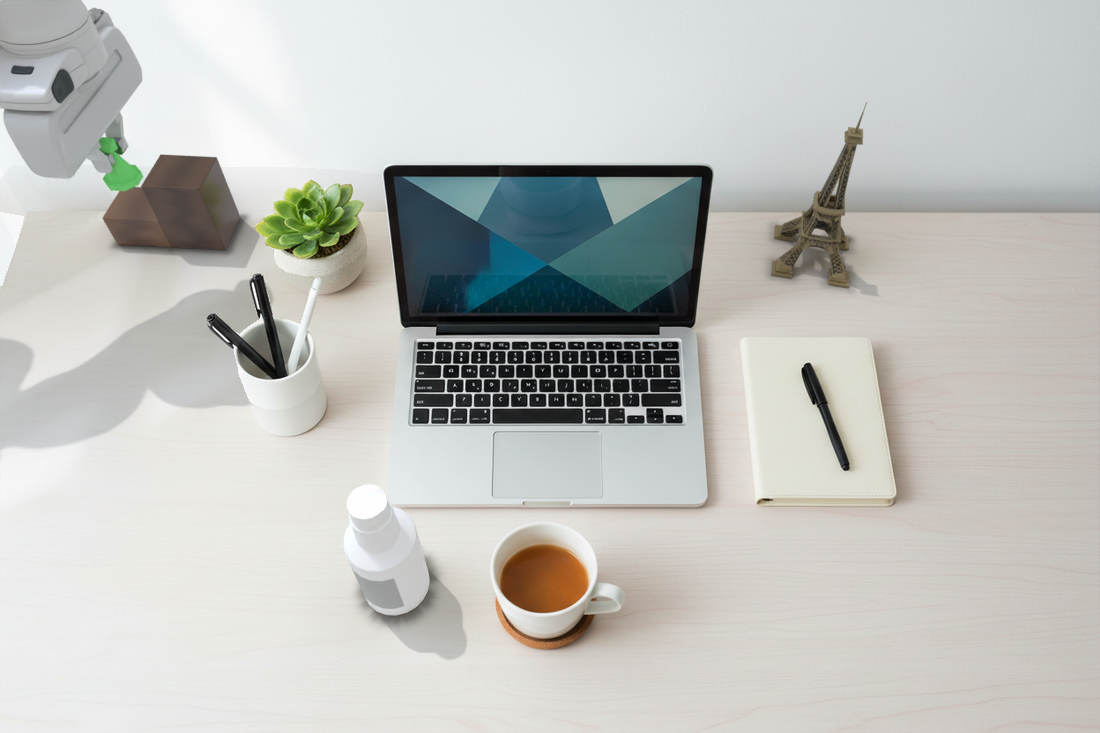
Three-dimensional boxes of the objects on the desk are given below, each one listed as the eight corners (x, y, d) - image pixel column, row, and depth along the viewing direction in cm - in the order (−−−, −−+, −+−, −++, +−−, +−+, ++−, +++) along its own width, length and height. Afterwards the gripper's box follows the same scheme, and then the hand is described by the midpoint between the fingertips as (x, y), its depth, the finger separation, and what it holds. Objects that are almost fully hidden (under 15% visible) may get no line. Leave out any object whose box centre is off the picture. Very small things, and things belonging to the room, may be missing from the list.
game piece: (143, 187, 92) (122, 144, 88) (105, 194, 92) (81, 152, 87) (143, 165, 95) (122, 123, 90) (105, 173, 94) (82, 130, 89)
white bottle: (365, 557, 83) (328, 470, 69) (429, 551, 83) (406, 463, 69) (362, 620, 79) (323, 541, 65) (430, 613, 79) (406, 533, 65)
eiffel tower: (847, 237, 115) (910, 83, 95) (848, 287, 108) (915, 134, 89) (775, 226, 116) (822, 72, 96) (771, 275, 110) (820, 121, 90)
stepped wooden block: (117, 244, 113) (81, 183, 104) (136, 212, 117) (103, 151, 108) (225, 250, 112) (199, 189, 103) (241, 217, 116) (216, 156, 108)
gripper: (72, -2, 87) (124, 107, 98) (-26, 103, 74) (46, 215, 85) (127, 1, 87) (173, 110, 97) (38, 107, 74) (102, 219, 85)
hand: (113, 160), depth 91 cm, fingers closed on game piece, 2 cm apart
